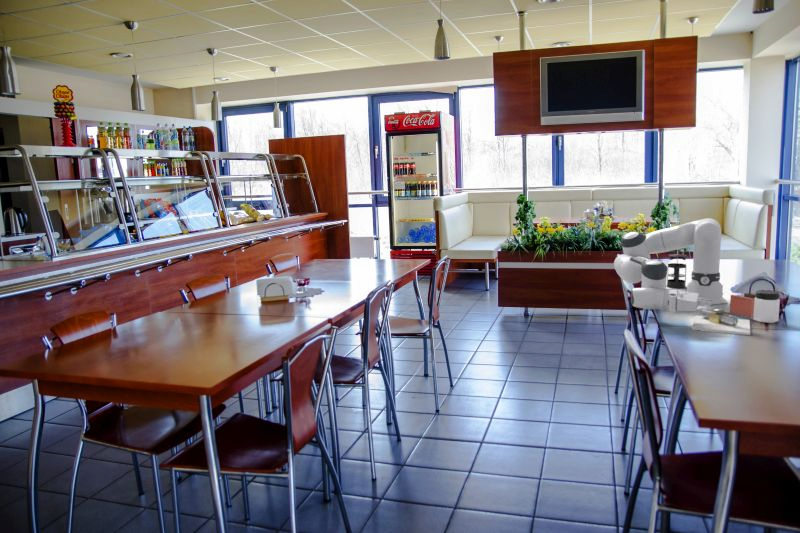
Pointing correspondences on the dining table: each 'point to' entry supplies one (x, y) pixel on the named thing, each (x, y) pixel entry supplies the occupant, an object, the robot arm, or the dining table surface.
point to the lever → (739, 307)
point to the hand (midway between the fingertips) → (711, 302)
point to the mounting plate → (721, 326)
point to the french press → (676, 272)
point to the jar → (766, 306)
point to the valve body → (719, 317)
